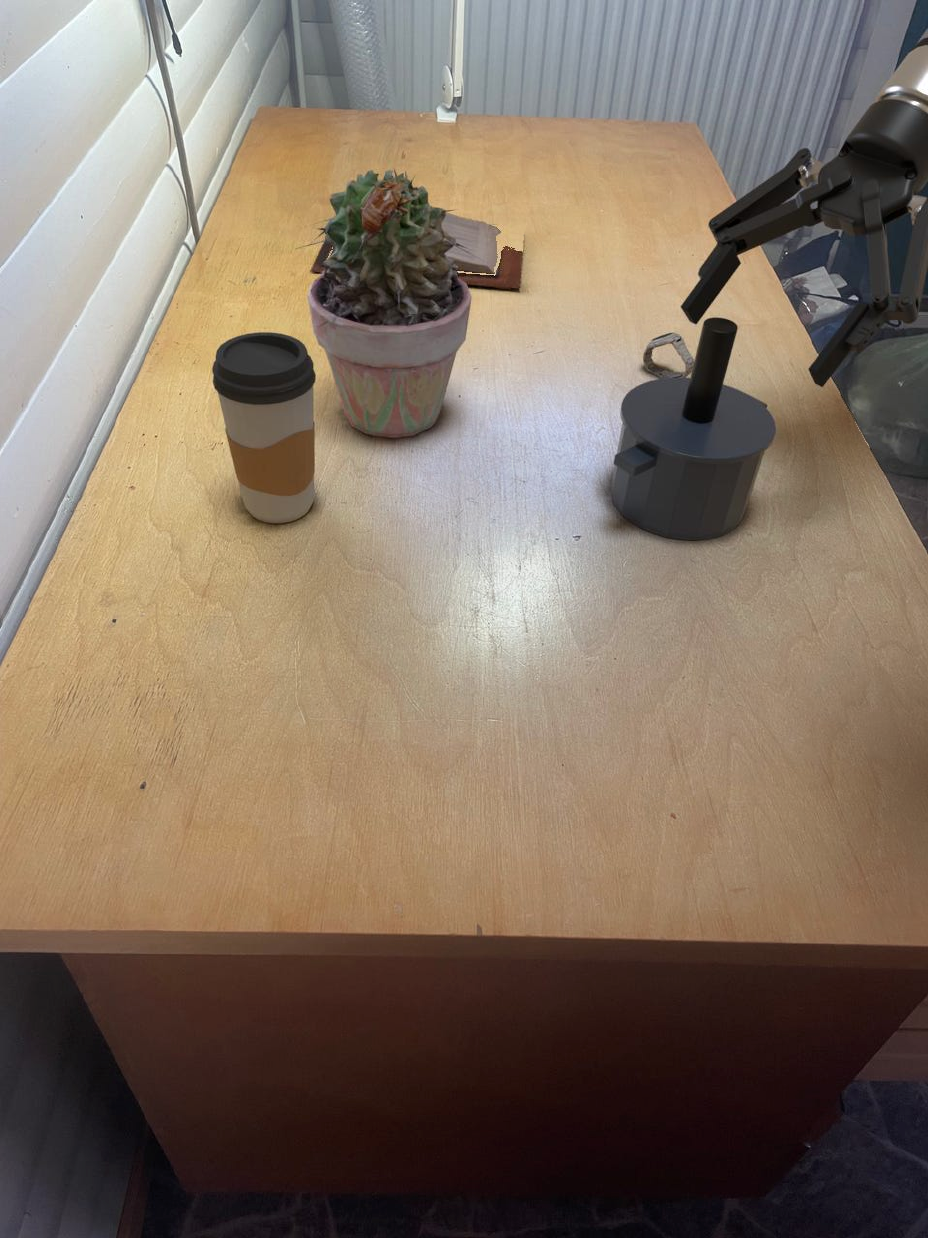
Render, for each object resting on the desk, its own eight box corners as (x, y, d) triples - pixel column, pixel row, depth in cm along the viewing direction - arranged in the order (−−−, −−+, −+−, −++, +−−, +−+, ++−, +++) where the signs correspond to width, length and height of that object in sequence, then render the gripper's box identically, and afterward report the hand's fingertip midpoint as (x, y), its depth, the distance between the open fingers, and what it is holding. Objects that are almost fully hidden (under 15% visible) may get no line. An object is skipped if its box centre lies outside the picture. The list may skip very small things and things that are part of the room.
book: (336, 221, 134) (333, 190, 131) (526, 230, 133) (527, 199, 130) (309, 286, 121) (305, 253, 118) (519, 298, 120) (521, 265, 116)
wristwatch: (652, 361, 107) (660, 320, 103) (695, 381, 104) (705, 340, 100) (633, 370, 105) (641, 329, 102) (677, 391, 102) (687, 350, 99)
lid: (803, 437, 81) (839, 335, 74) (703, 488, 75) (733, 382, 68) (687, 374, 89) (710, 276, 82) (587, 416, 82) (603, 313, 75)
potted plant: (429, 352, 106) (433, 115, 89) (507, 438, 93) (529, 181, 76) (279, 380, 100) (252, 132, 83) (340, 476, 87) (324, 206, 70)
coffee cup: (291, 467, 88) (275, 319, 78) (343, 507, 84) (334, 357, 73) (215, 500, 84) (188, 348, 73) (266, 544, 79) (245, 390, 69)
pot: (788, 498, 88) (815, 421, 82) (662, 569, 79) (682, 489, 73) (689, 440, 95) (707, 365, 89) (563, 499, 86) (574, 421, 80)
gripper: (1058, 201, 71) (882, 427, 74) (795, 118, 85) (655, 313, 88) (1061, 138, 65) (868, 387, 68) (776, 60, 79) (627, 271, 82)
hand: (748, 346), depth 78 cm, fingers open, 13 cm apart
